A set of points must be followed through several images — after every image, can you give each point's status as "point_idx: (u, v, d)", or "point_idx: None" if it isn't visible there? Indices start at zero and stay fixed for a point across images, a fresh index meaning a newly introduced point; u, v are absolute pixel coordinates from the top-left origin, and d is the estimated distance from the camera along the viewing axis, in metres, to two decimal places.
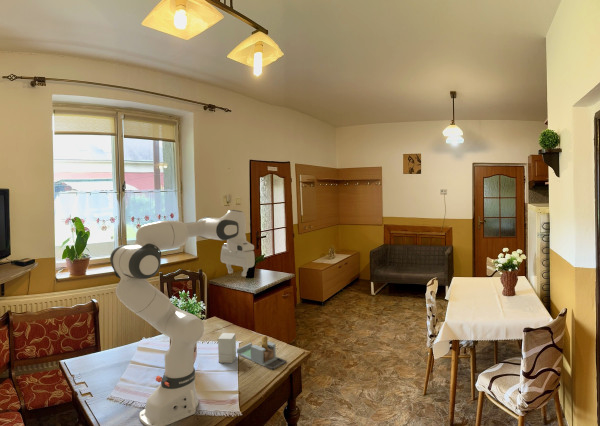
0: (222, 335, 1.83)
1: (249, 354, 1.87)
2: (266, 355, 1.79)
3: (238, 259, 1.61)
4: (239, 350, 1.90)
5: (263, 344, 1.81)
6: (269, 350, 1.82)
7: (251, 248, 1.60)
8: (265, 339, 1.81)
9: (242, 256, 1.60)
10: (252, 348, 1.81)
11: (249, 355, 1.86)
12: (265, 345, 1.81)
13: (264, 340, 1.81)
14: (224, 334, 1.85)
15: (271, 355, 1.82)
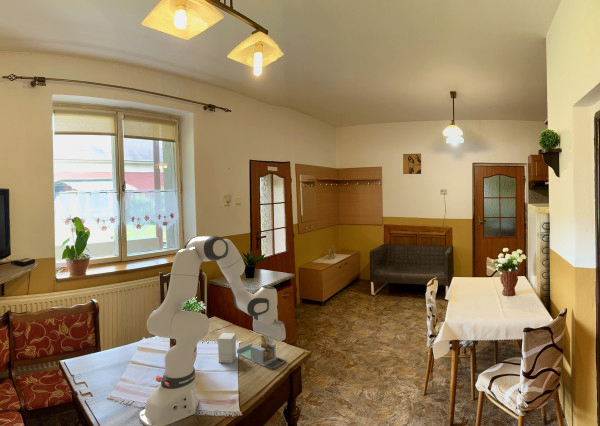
0: (222, 335, 1.83)
1: (249, 354, 1.87)
2: (266, 355, 1.80)
3: None
4: (239, 350, 1.90)
5: (262, 344, 1.82)
6: (268, 350, 1.83)
7: None
8: (264, 339, 1.82)
9: None
10: (252, 348, 1.81)
11: (249, 355, 1.86)
12: (264, 345, 1.82)
13: (263, 340, 1.81)
14: (224, 334, 1.85)
15: (271, 355, 1.82)
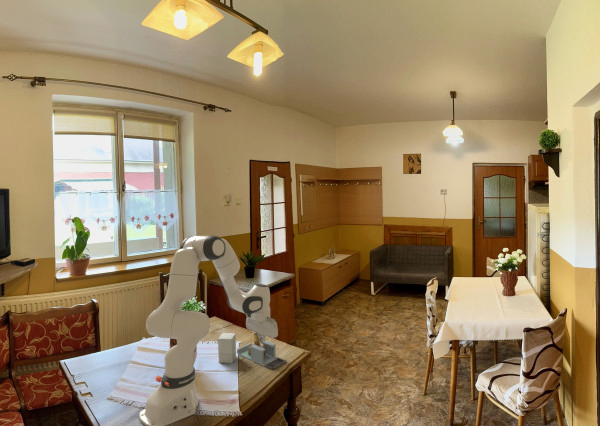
0: (222, 335, 1.83)
1: None
2: None
3: None
4: (239, 350, 1.90)
5: (255, 341, 1.85)
6: None
7: None
8: (257, 336, 1.85)
9: None
10: (252, 348, 1.81)
11: (249, 355, 1.86)
12: (257, 342, 1.85)
13: (256, 337, 1.85)
14: (224, 334, 1.85)
15: (264, 352, 1.86)
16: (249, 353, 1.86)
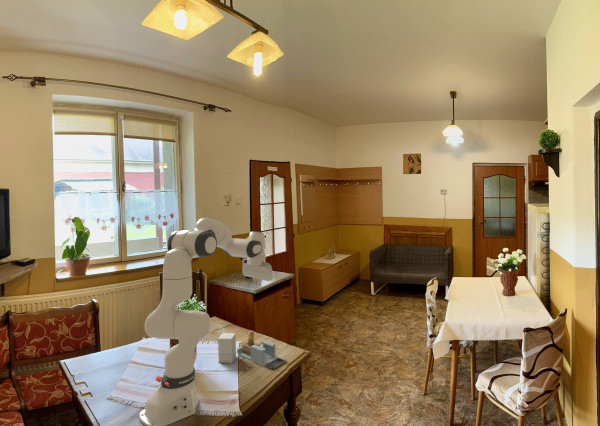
0: (222, 335, 1.83)
1: None
2: None
3: None
4: (239, 350, 1.90)
5: (249, 339, 1.88)
6: None
7: None
8: (251, 334, 1.88)
9: None
10: (252, 348, 1.81)
11: (249, 355, 1.86)
12: (251, 340, 1.88)
13: (250, 335, 1.88)
14: (224, 334, 1.85)
15: None
16: (244, 351, 1.89)
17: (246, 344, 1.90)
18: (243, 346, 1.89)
